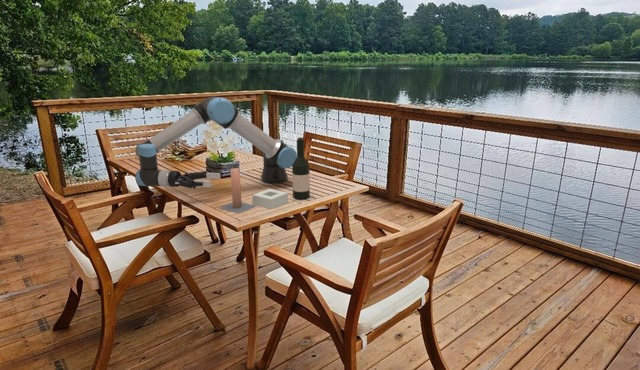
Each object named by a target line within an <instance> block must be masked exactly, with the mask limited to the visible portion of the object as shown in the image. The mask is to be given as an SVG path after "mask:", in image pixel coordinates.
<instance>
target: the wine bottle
mask: <svg viewBox="0 0 640 370" xmlns="http://www.w3.org/2000/svg"><path fill="white" fill-rule="evenodd" d="M296 153H297V158H296V160H295V161H294V163H293V165H292V167H291V169H292V171H291V172H292V198H293V199H294V200H295V201H296V200H297V201H304V200H308V199H309V198H311V194H310V193H311V192H310V191H311V190H310V189H311V187H310V184H311V183H310V179H311V178H310V177H311V176H310V164H309V161H308V160H307V159H306V157H305V140H304V137H302V136H301V137H297V139H296Z"/></svg>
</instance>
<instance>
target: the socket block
mask: <svg viewBox="0 0 640 370" xmlns="http://www.w3.org/2000/svg"><path fill="white" fill-rule="evenodd" d="M251 200H252V205H254V206H257V207H258V206H259V207H263V208H266V209H270V210H273V209H275V208H278V207H281V206H283V205H285V204H287V203H289V192H286V191H281V190H276V189H272V188H268V189H265V190H261V191H260V192H256V193H254V194H252V198H251Z"/></svg>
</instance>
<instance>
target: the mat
mask: <svg viewBox="0 0 640 370" xmlns="http://www.w3.org/2000/svg"><path fill="white" fill-rule="evenodd" d="M241 202H242V201H241ZM219 207H220V206H219ZM257 207H258V205H254V204H250V203H245V202H242V207H241V208H233V201H231V202H229V203H226V204H224V205H221V207H220V208H219V209H220V210H224V211H228V212H232V213H234V214H238V215H239V214H241V213H244V212H246V211H250V210H252V209H254V208H257Z"/></svg>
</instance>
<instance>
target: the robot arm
mask: <svg viewBox="0 0 640 370" xmlns="http://www.w3.org/2000/svg"><path fill="white" fill-rule="evenodd" d="M211 121H213V123H216V124H217V125H219V126H220V127H221V128H223V129H224V130H226V129H230V130H231V131H233V132H234V133H235V134H237V135H238V136H240V137H241V138H243V139H244V140H246V141H247V142H249V143H250V144H252V145H253V146H254V147H256V148H257V149H259V151H260V152H261V151H262V161H263V168H262V172H261V175H260V180H261V181H262V182H263V183H268V184H279V183H284V182H286V181H288V174H287V170H286V169H290V168H292V165H293V163H294V161H295V160H296V158H297V150H295V149H294V148H293V147H292V146H288V145H287V144H286V143H285V142H284V140H283V139H279V138H278V139H274V138H273V137H272V136H270V135H269V134H267V133H266V132H265V131H264V130H262V129H260V128H259V127H258V126H256V125H255V124H254V123H252V122H251V121H250V120H248V119H247V118H246V117H244V116H243V115H241V114H240V110H239V108H237V107H236V106H235V105H233V103H232V102H231V101H230V100H229V99H227V98H224V97H219V96H216V95H215V96H214V95H212V96H208V97H206V98H205V99H203V100H202V101H200V102H199V103H198V104H196V105H194V106H193V107H192V108H191V111H190V112H188V113H187V114H184V115H183V116H182V117H181V118H179V119H177V120H175V122H173V123H172V124H170V125H169V126H166V128H163V129H162V130H161V131H159V132H158V133H156V134H155V135H154V136H152V137H150V138H148V140H146V141H145V142H144V141H143V142H141V143H138V144H137V145H136V146H135V149H134V153H135V156H136V157H137V158H138V161H139V166H140V169H138V170H137V171H136V172H135V183H136V184H137V185H138V186H142V187H164V189H166V188H167V187H168V188H169V187H172V188H178V187H183V188H188V189H193V190H194V189H195V190H196V189H197V188H211V187H212V182H211V180H221V173H220V172H208V170H205V171H197V172H185V173H184V174H181V171H179V170H167V169H166V170H163V169H161V170H159V168H158V155H157V154H158V153H159V152H161V151H162V150H164V149H165V148H167V147H169V146H170V145H172V144H173V143H175V141H177V140H179V139H180V138H182V137H183V136H185V135H186V134H188V133H190V132H191V131H192V130H193V129H195V128H197V127H198V126H200V125H202V124H203V125H205V124H206V123H208V122H211ZM201 179H203V180H201ZM204 179H207V180H204ZM196 187H197V188H196Z"/></svg>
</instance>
